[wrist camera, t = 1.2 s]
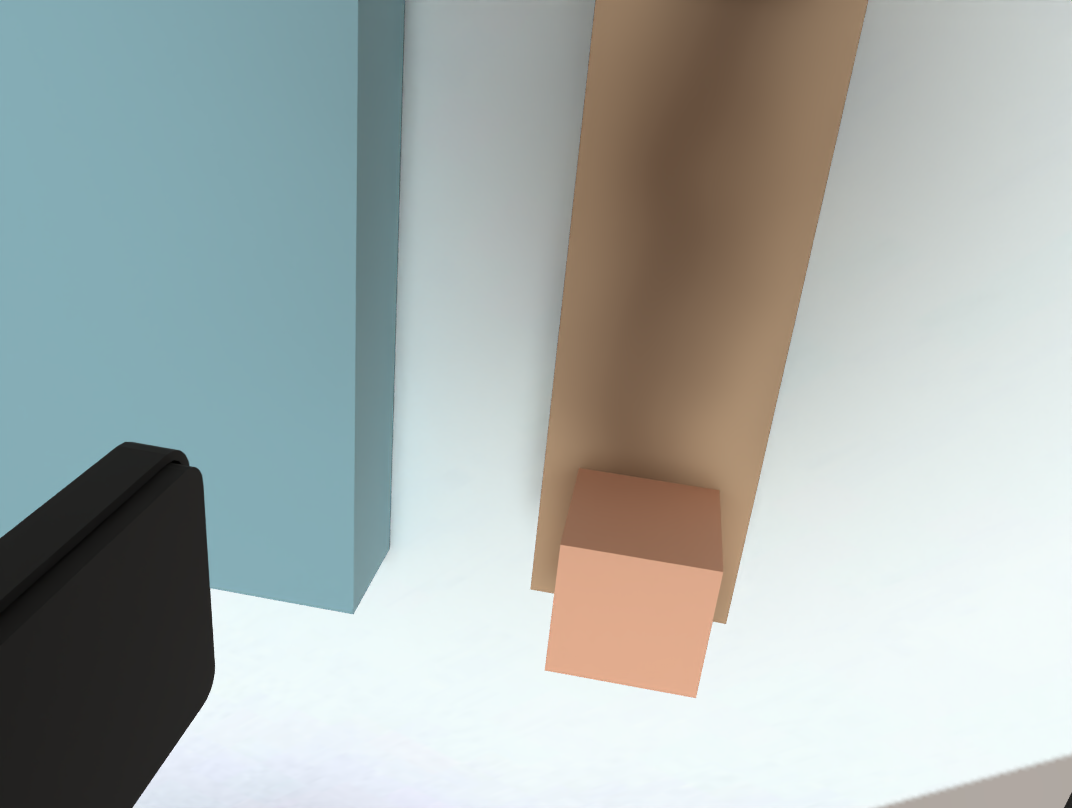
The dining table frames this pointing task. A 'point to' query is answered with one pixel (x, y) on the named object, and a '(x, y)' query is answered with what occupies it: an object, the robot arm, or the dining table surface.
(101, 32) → the block
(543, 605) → the dining table surface
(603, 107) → the pallet
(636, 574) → the pink cube
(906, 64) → the dining table surface
